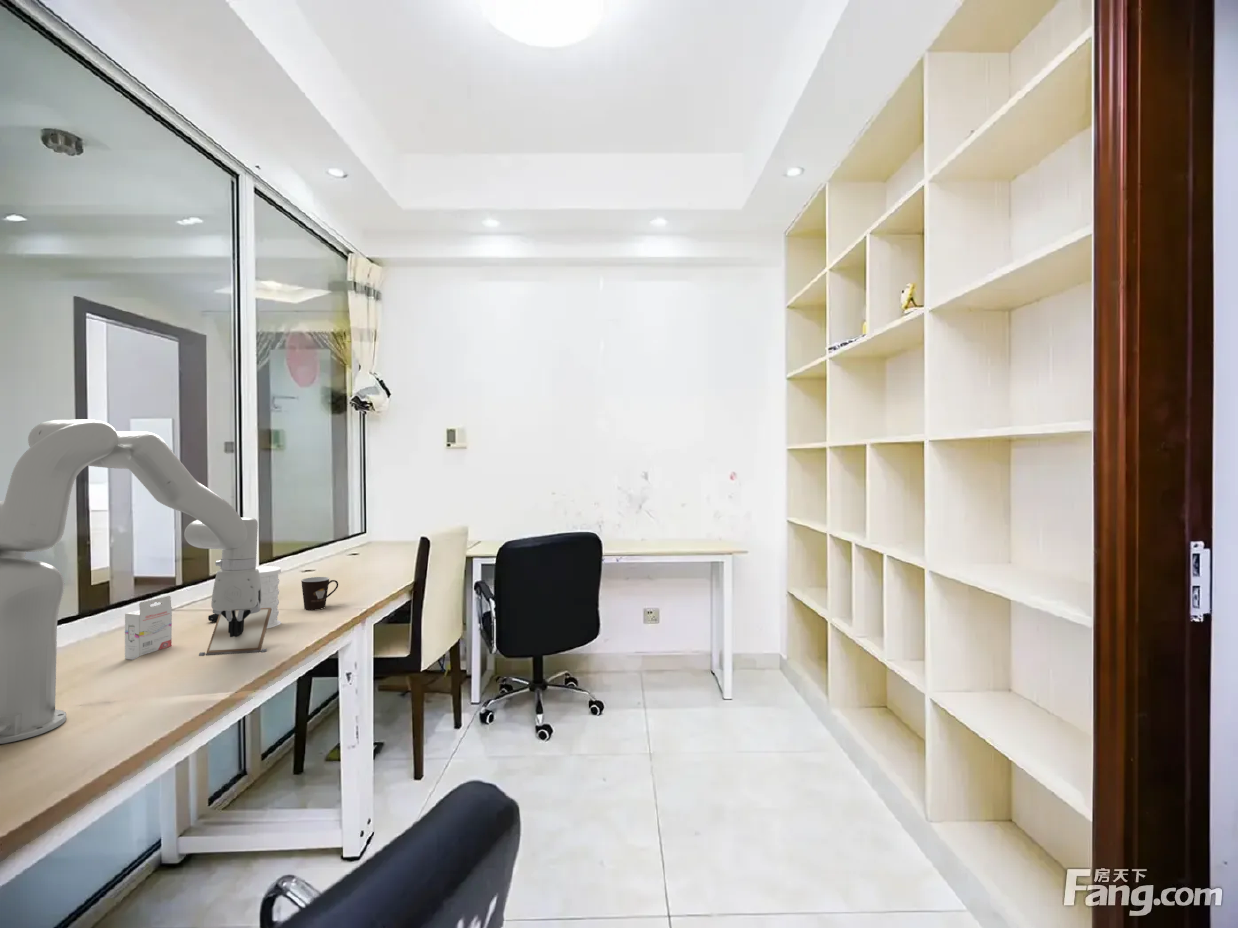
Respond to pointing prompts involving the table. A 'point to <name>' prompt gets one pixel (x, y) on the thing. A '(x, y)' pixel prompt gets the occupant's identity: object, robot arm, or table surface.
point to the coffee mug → (316, 592)
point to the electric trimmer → (213, 617)
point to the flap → (246, 641)
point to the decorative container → (270, 592)
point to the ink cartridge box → (148, 628)
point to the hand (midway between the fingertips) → (235, 635)
